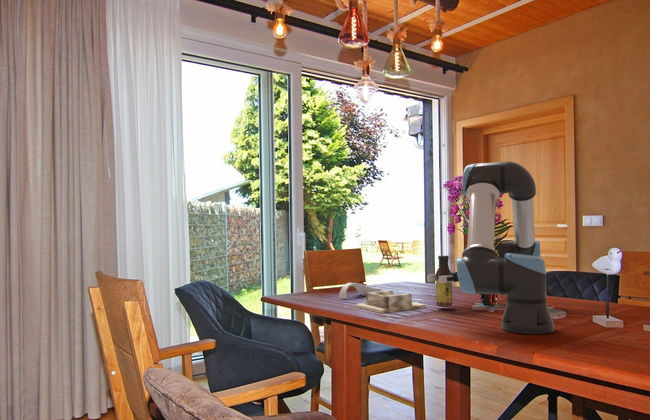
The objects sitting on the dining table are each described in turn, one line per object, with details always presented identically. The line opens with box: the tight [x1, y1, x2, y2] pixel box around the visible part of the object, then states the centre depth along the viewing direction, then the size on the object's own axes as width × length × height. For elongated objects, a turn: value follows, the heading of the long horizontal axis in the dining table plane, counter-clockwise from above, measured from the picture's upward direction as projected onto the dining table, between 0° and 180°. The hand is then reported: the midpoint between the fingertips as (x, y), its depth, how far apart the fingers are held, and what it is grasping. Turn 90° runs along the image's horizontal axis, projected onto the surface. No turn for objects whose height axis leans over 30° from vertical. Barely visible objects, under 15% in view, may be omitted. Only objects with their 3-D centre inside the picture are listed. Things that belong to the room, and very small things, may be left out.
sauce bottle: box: [435, 255, 453, 308], centre depth 195 cm, size 6×6×20 cm
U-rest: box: [355, 289, 427, 314], centre depth 201 cm, size 22×18×6 cm
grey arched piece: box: [338, 282, 382, 300], centre depth 236 cm, size 24×12×7 cm, turn 131°
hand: (433, 278), depth 192 cm, fingers closed on sauce bottle, 6 cm apart
